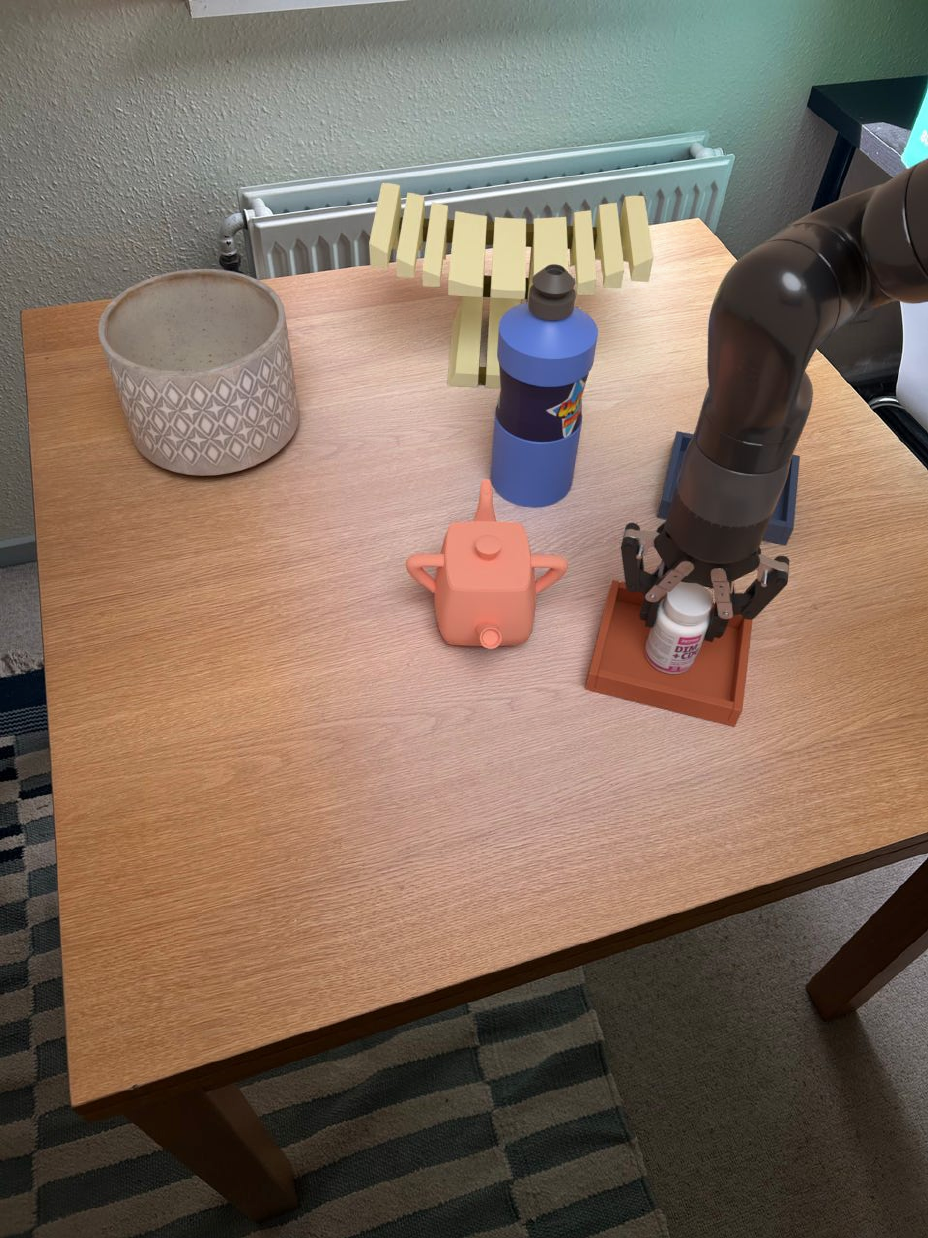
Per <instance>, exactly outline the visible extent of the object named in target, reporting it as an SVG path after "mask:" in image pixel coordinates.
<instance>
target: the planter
mask: <svg viewBox="0 0 928 1238" xmlns="http://www.w3.org/2000/svg"><path fill="white" fill-rule="evenodd" d="M286 316H287V315H286V310H285V305H284V303H283V301H282V300H281V297H280V296H279V295H278V294H277V293H276V291H274V289H273V288H272V287H270V286H269V285H267V284H266V283H264V282H262V281H261V280H259V279H257V278H254V277H252V276H250V275H247V274H244V273H241V272H236V271H231V270H225V269H217V268H192V269H182V270H181V269H180V270H176V271H169V272H166V273H161V274H159V275H154V276H153V277H149V278H147V279H144V280H142V281H139V282H137V283H136V284H134V285H131V286H130V287H128V288H126V289H125V290H124V291H122V292H120V293H119V294H118V295H117V296H116V297H114V298H113V299H112V300H111V301H110V302H109V303H108V305H107V306H106V307H105V309H104V310H103V312H102V314H101V315H100V317H99V322H98V326H97V333H98V334H97V335H98V339H99V343H100V345H101V349H102V351H103V354H104V357H105V360H106V363H107V367H108V369H109V372H110V375H111V380H112V381H113V384H114V389H115V390H116V392H117V393H116V394H117V396H118V400H119V403H120V406H121V409H122V411H123V412H122V413H123V415H124V418H125V421H126V423H127V426H128V429H129V433H130V436H131V439H132V442H133V444H134V446H135V447H136V449H137V450H138V451H139V452H140V454H141V455H142V456H143V457H144V458H145V459H146V460H148V461H149V462H150V463H153V464H154V465H156V466H157V467H160V468H162V469H165V470H168V471H169V472H173V473H178V474H183V475H188V476H200V477H201V476H203V477H204V476H220V475H227V474H232V473H236V472H240V471H243V470H247V469H249V468H252V467H255V466H257V465H259V464H261V463H263V462H265V461H266V460H268V459H270V458H272V457H274V455H276V454H277V453H278V452H280V451H281V450H282V449H283V448H285V447H286V445H287V444H288V443H289V442H290V440H291V439H292V438H293V436H294V435H295V432H296V431H297V428H298V425H299V421H300V407H299V401H298V394H297V393H298V392H297V387H296V380H295V373H294V365H293V358H292V351H291V344H290V339H289V338H290V336H289V330H288V323H287V317H286Z"/></svg>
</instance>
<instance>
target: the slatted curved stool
mask: <svg viewBox="0 0 928 1238" xmlns="http://www.w3.org/2000/svg"><path fill="white" fill-rule="evenodd" d="M645 199H646V198H645V196H644V195H628V196H625V197H624V199H623V202H622V207H621V211H620V217H619V209H618V203H617V202H611V203H603V204H598V209H597V214H596V220H595V225H594V226H593V220H592V218H593V217H592V210H591V209H589V210H582V211H574V213H573V217H572V223H571V225H568V224H567V216H557V217H539V218H537V217H536V218H533V223H527V219H526V218H516V217H515V218H513V217H497V216H495V217H494V221H488V216H487V215H483V214H476V213H469V212H463V211H458V210H456V211H454V212H455V213H454V219H449V205H446V204H441V203H437V202H433V201H432V202H431V206H430V213H429V218H426V204H425V203H426V201H425V196H424V195H421V194H417V193H413V192H409V191H408V192H407V193H406V198H405V205H404V210H403V215H402V192H401V185H400V184H396V183H392V182H391V183H390V182H382V183H381V185H380V190H379V194H378V199H377V203H376V208H375V214H374V219H373V223H372V228H371V233H370V237H369V242H368V244H369V245H368V246H369V247H368V249H369V262H370V263H369V266H370V269H389V265H390V260H391V254H392V250H396V257H395V263H396V264H395V265H396V266H395V267H396V278H408V279H409V278H410V279H414V278H415V274H416V267H417V261H418V256H419V252H420V251H421V252H422V251H423V247H424V243H425V249H424V257H423V263H422V264H423V265H422V287H433V288H441V280H442V274H443V273H442V272H443V271H442V270H443V264H444V261H446V260H447V251H448V244H451V250H450V251H451V252H450V261H449V270H448V284H447V286H448V287H447V295H448V296H458V297H461V300H460V303H459V306H458V309H457V311H456V314H455V316H454V317H453V318H454V319H453V321H452V326H451V336H450V346H449V356H448V357H449V358H448V368H447V380H446V386H447V387H462V388H463V387H464V388H478V387H479V385H485V388H486V389H501V387H500V372H499V362H498V358H497V347H498V332H499V322H500V320H501V318H502V316H503V315H504V314H505V313H506V312H507V311H508V310H510V309H511V308H513V307H515V306H517V305H519V304H521V300H526V302H528V301H529V291H530V288H531V286H532V285H533V283H532V278H533V276H534V275H535V274H537V273H538V272H539V271H541V270H542V269H544V268H545V267H547V266H548V265H552V264H557V265H560V266H562V267H564V268H565V269H566V270H567V271H568V273H569V274H570V269H569V266H570V268H572V267H573V266H574V272H575V274H574V275H575V288H576V289H575V291H576V295H587V296H594V295H595V289H596V284H597V270H596V269H597V268H596V260H597V261H600V266H601V275H602V284H603V286H602V287H603V288H605V289H622V287H623V280H624V275H625V264H624V262H626V263H628V269H629V276H630V277H629V278H630V282H638V283H639V282H640V283H649V282H650V276H651V272H652V266H653V262H654V252H653V251H654V250H653V245H652V239H651V238H652V237H651V233H650V226H649V220H648V213H647V206H646V200H645ZM402 216H403V217H402ZM487 246H492V258H491V259H492V260H491V275H485V268H486V267H485V264H486V247H487ZM527 248H530V255H529V266H528V277H527V276H526V269H527V268H526V267H527V266H526V265H527V263H526V261H527V259H526V257H527ZM484 298H489V311H488V312H489V313H488V333H487V349H486V350H487V351H486V366H480V356H481V341H482V340H481V339H482V322H483V306H484V305H483V304H484ZM526 302H525V303H526Z"/></svg>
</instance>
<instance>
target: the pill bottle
mask: <svg viewBox="0 0 928 1238" xmlns="http://www.w3.org/2000/svg"><path fill="white" fill-rule="evenodd" d="M713 603H714V602H713V595H712V594H711V592H710V591H709V589H708V588H707V587H704V586H702V585H699V584H697V583H685V582H681V581H680V582H679V583H678V584H677V585H676V586H675V587H674V588H673V589H672V590H671V591H670V592H668V591H667V593H666V596H665V598H664V599H663V600H662V601H661V602H660V605H659V608H658V611H657V615H656V618H655V621H654V624H653V628H651V630H650V633H649V636H648V639H647V641H646V645H645V655H646V658H647V660H648V661H649V663H650V664H651V665H652V666H653V667H654V668H656V669H657V670H659V671H661V672H664V673H668V674H679V673H683V672H685V671H687V670H689V669H690V668H691V667H692V665H693V664H694V662H695V659H696V657H697V654H698V652H699V649H700V647H701V645H702V642H703V640H704V637H705V635H706V632H707V629H708V627H709V624H710V611H711V608H712V604H713Z"/></svg>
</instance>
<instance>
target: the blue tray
mask: <svg viewBox="0 0 928 1238" xmlns="http://www.w3.org/2000/svg"><path fill="white" fill-rule="evenodd" d="M693 434H694V433H689V432H684V431H678V430H676V432H675V435H674V439H673V443H672V445H671V446H672V447H671V451H670V456H669V460H668V465H667V470H666V474H665V478H664V482H663V487H662V491H661V497H660V501H659V506H658V510H657V515H656V518H658V519H663V520H666V518H667V514H668V511H669V507H670V504H671V500H672V497H673V493H674V490H675V486H676V483H677V479H678V476H679V469H680V464H681V462H682V460H683V458H684V455H685V452H686V449H687V447H688V445H689V443H690V441H691V439H692V436H693ZM800 459H801V455H798V454H793V456H792V459H791V462H790V467H789V472H788V476H787V479H786V482H785V485H784V488H783V490H782V493H781V495H780V498H779V500H778V503H777V505H776V507H775V510H774V512H773V515H772V517H771V519H770V522H769V524H768V527H767V529H766V532H765V534H764V537H763V539H762V541H763V542H767V543H773V544H778V545H780V546H781V545H782V546H787V545H788V543H789V539H791V538H790V537H791V535H792V534H793V531H794V529H795V517H796V506H797V497H798V496H797V493H798V484H799V471H800V462H801V461H800Z"/></svg>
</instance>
